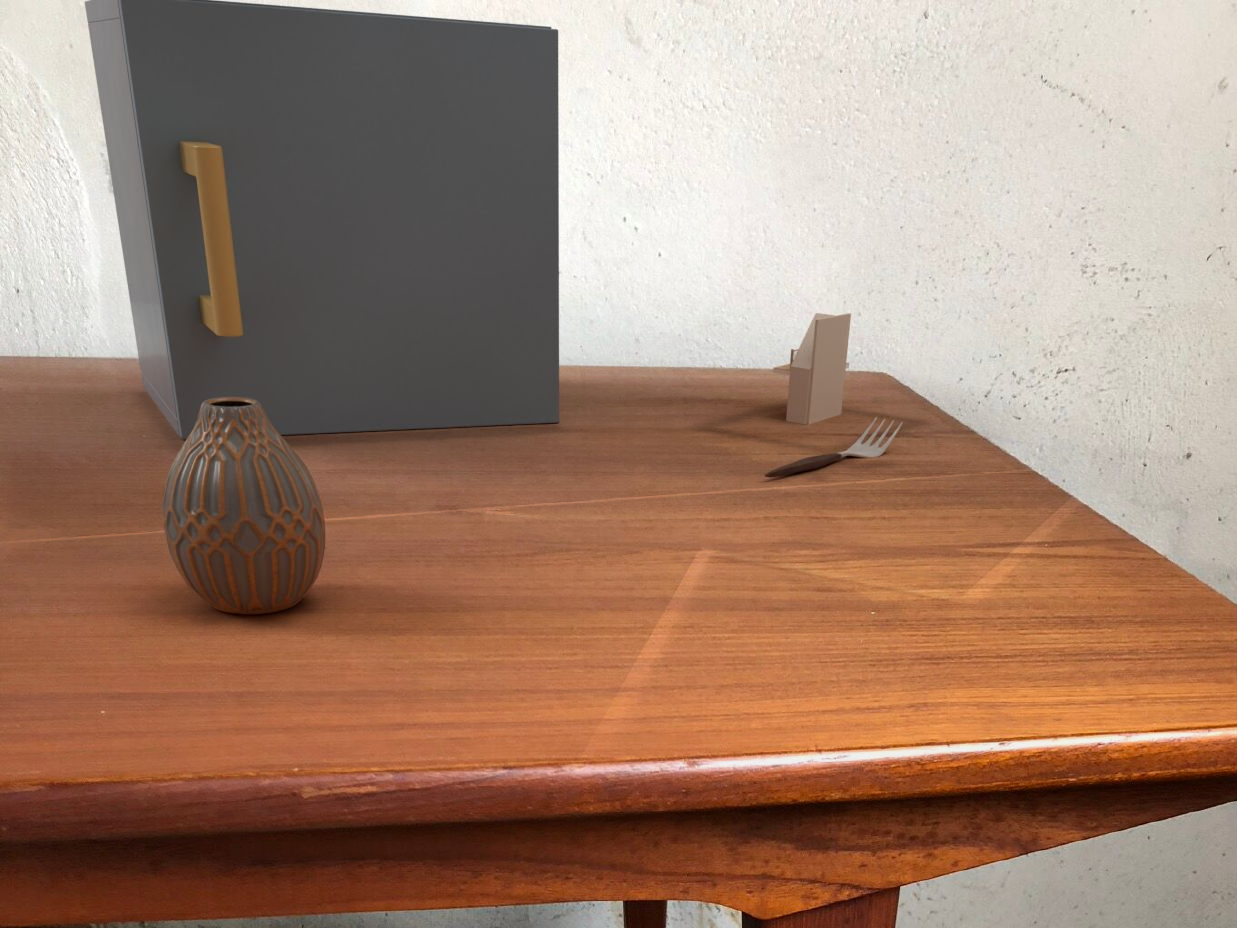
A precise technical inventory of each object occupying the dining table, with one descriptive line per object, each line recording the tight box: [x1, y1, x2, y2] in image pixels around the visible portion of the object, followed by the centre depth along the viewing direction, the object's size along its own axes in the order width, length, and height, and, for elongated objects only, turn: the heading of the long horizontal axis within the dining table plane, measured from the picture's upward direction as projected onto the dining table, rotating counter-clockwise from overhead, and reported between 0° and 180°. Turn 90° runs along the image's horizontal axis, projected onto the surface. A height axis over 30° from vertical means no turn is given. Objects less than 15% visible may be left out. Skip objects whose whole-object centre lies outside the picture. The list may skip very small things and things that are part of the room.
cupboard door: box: [118, 0, 560, 441], centre depth 87 cm, size 7×26×24 cm, turn 116°
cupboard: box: [84, 0, 552, 438], centre depth 96 cm, size 18×26×24 cm
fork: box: [764, 416, 904, 478], centre depth 93 cm, size 3×16×2 cm, turn 144°
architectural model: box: [772, 312, 852, 425], centre depth 105 cm, size 3×7×7 cm, turn 148°
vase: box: [162, 397, 326, 615], centre depth 61 cm, size 7×7×9 cm
